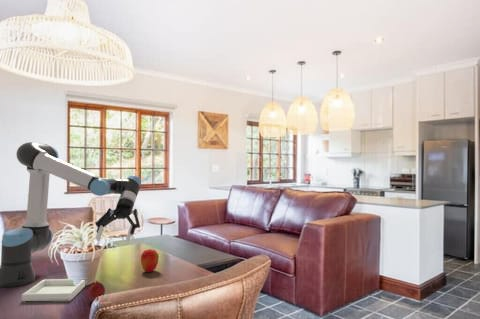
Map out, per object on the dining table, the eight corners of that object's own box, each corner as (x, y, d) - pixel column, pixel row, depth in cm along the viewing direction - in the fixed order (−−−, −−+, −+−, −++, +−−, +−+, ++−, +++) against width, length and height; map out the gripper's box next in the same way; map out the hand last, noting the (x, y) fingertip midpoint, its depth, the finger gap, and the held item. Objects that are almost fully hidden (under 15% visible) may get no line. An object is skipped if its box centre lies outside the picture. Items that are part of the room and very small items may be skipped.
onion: (106, 297, 135) (107, 278, 135) (101, 303, 129) (102, 282, 130) (92, 297, 135) (93, 277, 135) (86, 303, 129) (87, 282, 129)
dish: (21, 302, 129) (21, 294, 129) (43, 286, 147) (43, 279, 147) (70, 301, 131) (70, 293, 131) (85, 285, 149) (86, 278, 149)
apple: (153, 274, 166) (153, 250, 167) (136, 273, 168) (137, 249, 168) (161, 269, 175) (161, 246, 176) (145, 268, 177) (146, 245, 178)
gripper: (153, 207, 163) (142, 244, 147) (103, 206, 164) (87, 243, 148) (150, 197, 158) (138, 235, 142) (98, 197, 159) (81, 234, 143)
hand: (112, 239), depth 145 cm, fingers open, 13 cm apart
